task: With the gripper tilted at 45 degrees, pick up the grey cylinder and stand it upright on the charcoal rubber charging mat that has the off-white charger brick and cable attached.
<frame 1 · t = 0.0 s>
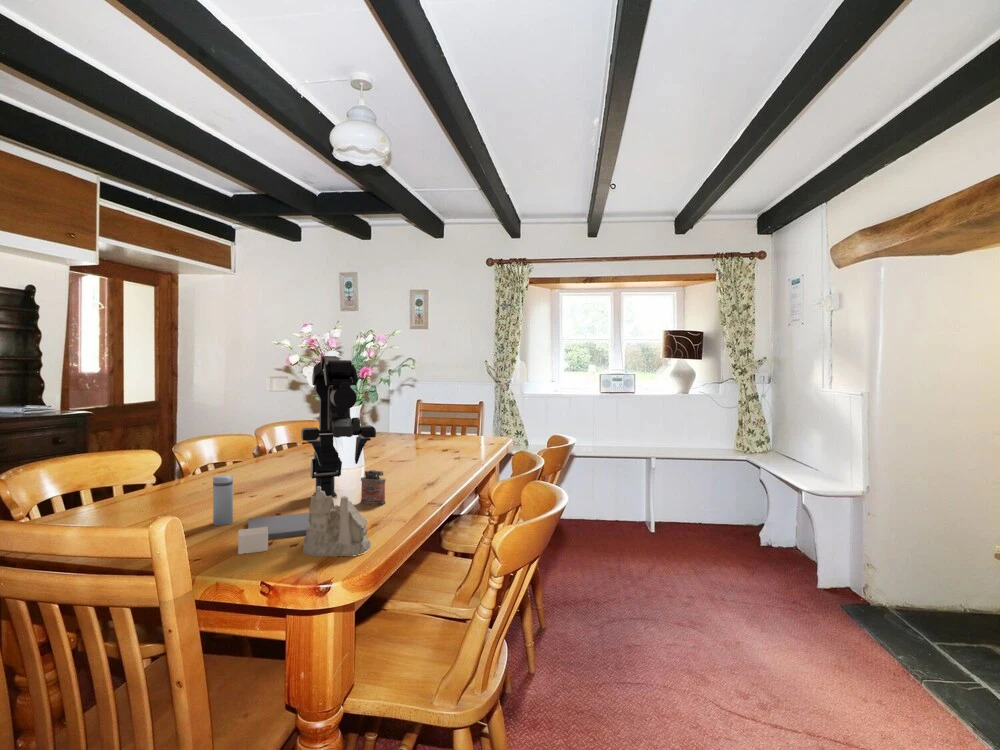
hand: (338, 464, 144), 15 cm above the table, tool pointing down, fingers open, 9 cm apart
charging mat: (283, 528, 136), on the table
grey cylinder: (222, 523, 140), on the table
ceramic cottage: (339, 546, 123), on the table
lighter: (373, 503, 161), on the table
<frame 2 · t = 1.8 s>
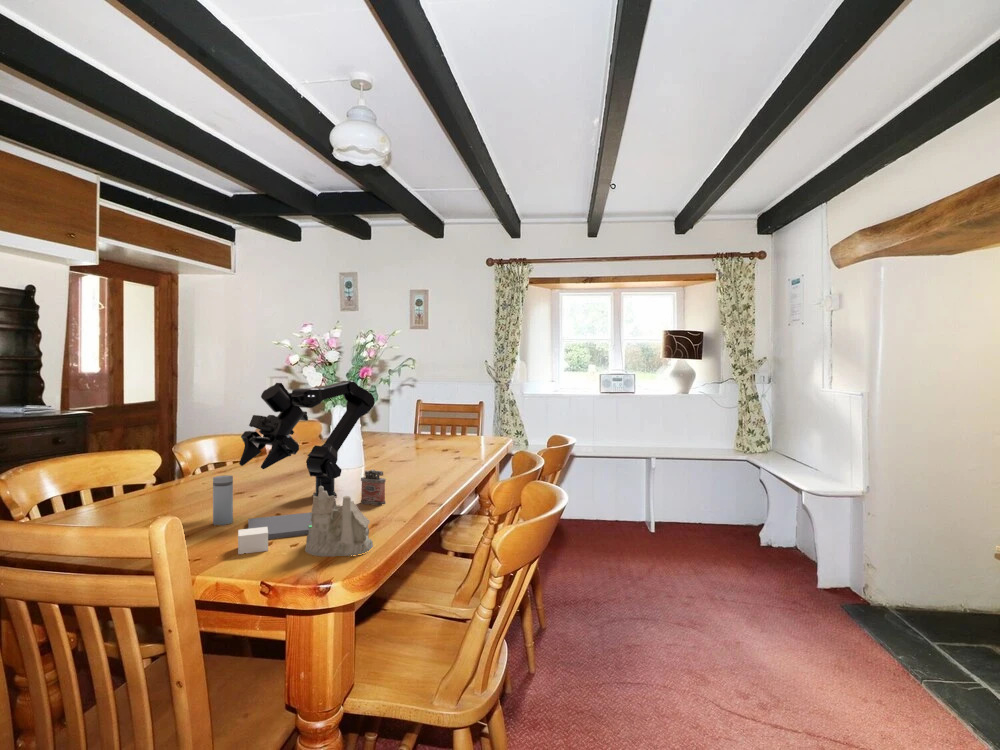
hand: (251, 466, 147), 13 cm above the table, tool tilted 45°, fingers open, 9 cm apart
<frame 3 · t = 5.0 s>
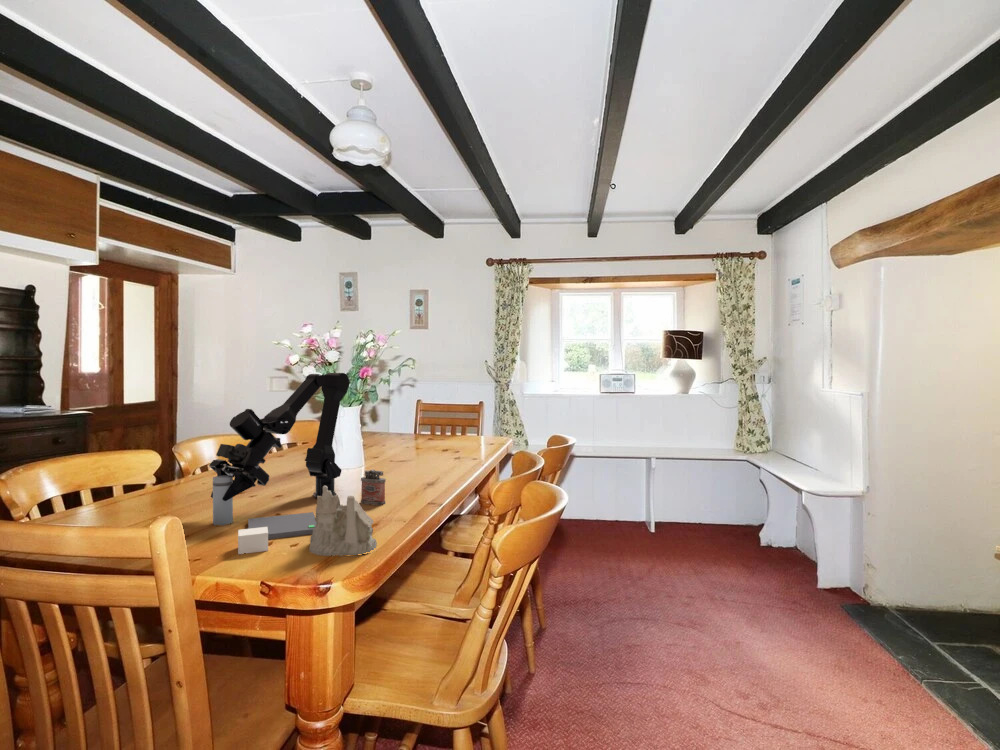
hand: (217, 498, 139), 7 cm above the table, tool tilted 45°, fingers closed on grey cylinder, 5 cm apart
grey cylinder: (222, 522, 140), on the table, touching gripper
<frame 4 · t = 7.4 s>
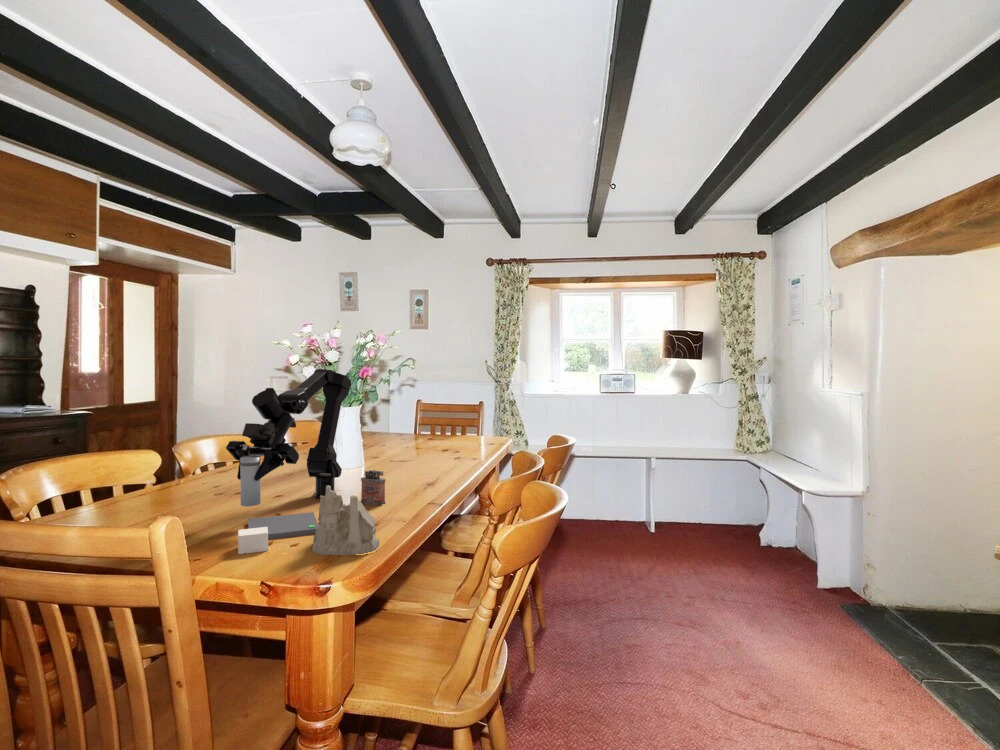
hand: (246, 479, 135), 12 cm above the table, tool tilted 45°, fingers closed on grey cylinder, 5 cm apart
grey cylinder: (250, 503, 137), point 6 cm above the table, touching gripper
when the fingers open (9 cm above the table, at t = 9.7 s): grey cylinder stays where it is, resting on charging mat.
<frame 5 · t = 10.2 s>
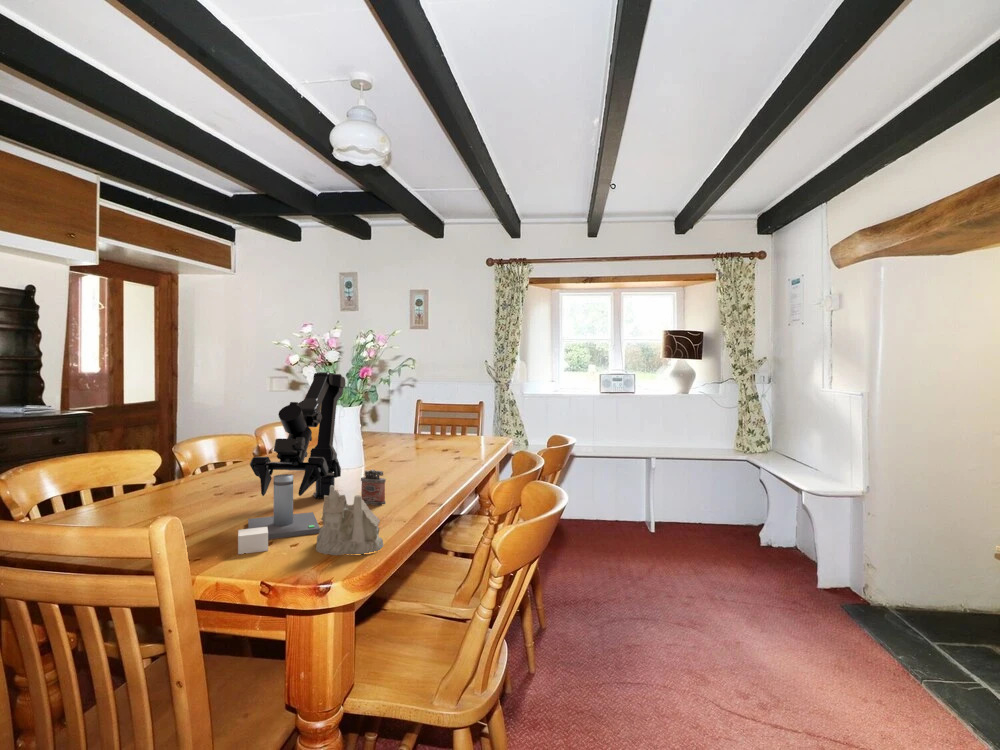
hand: (281, 495, 134), 9 cm above the table, tool tilted 45°, fingers open, 9 cm apart
grey cylinder: (283, 523, 136), point 1 cm above the table, touching charging mat
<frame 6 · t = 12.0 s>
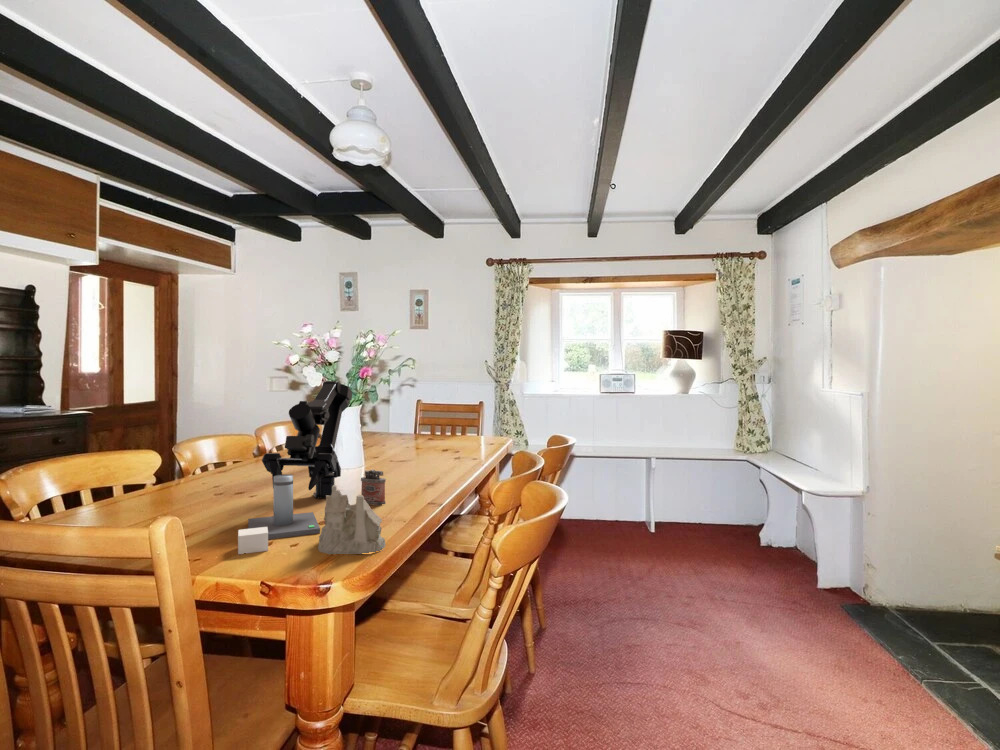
hand: (291, 489, 142), 8 cm above the table, tool tilted 45°, fingers open, 9 cm apart
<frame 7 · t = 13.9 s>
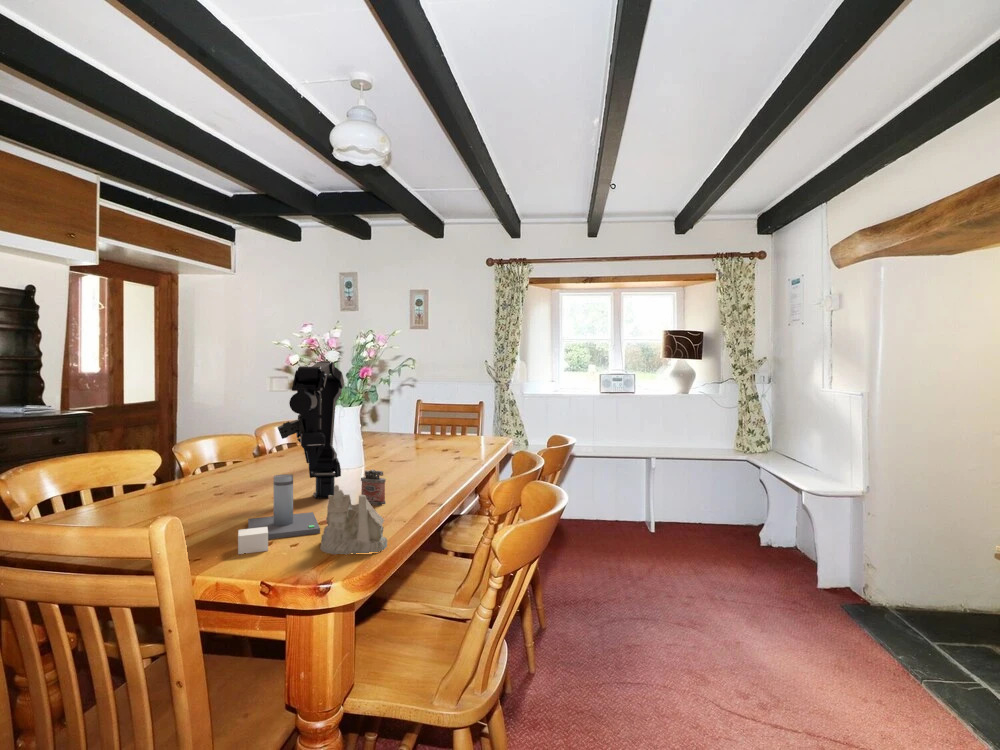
hand: (310, 466, 151), 13 cm above the table, tool pointing down, fingers open, 9 cm apart
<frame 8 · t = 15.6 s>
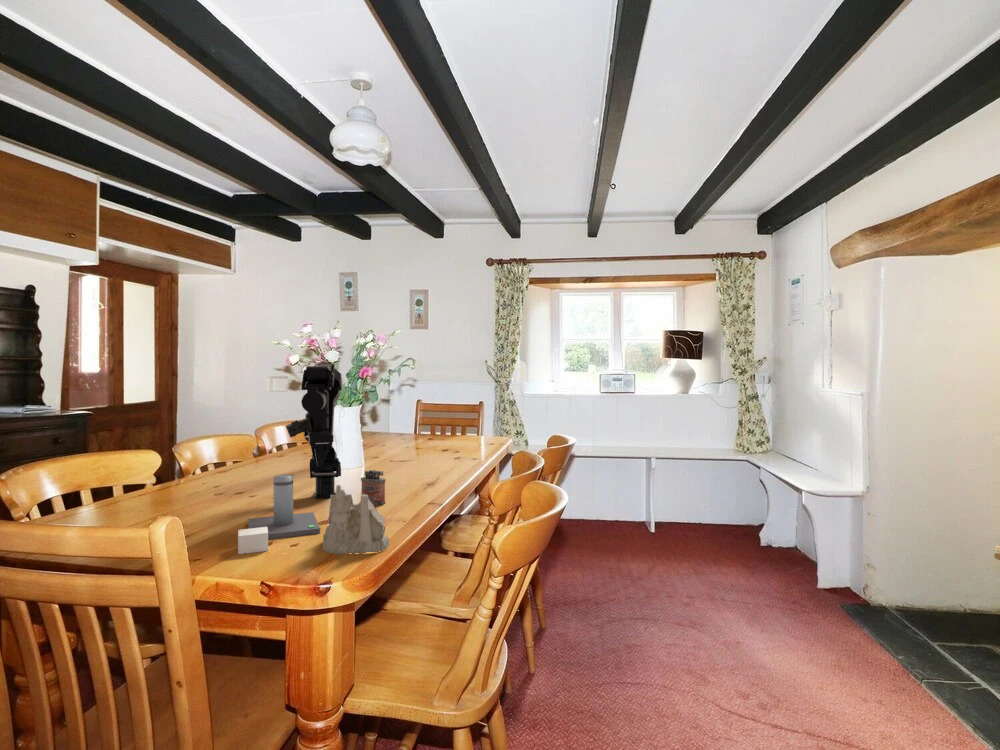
hand: (317, 464, 153), 13 cm above the table, tool pointing down, fingers open, 9 cm apart
at the end: grey cylinder inside the target area on the charging mat (0.1 cm from its centre), point 1.2 cm above the charging mat's base; grey cylinder tilted 0°; the gripper is holding nothing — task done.
